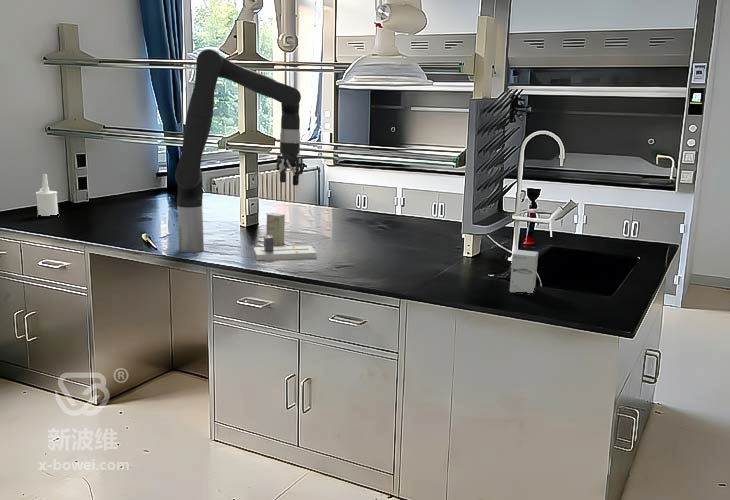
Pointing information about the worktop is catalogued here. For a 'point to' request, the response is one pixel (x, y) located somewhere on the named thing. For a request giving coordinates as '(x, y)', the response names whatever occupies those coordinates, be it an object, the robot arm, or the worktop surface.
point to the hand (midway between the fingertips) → (289, 183)
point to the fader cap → (268, 243)
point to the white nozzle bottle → (46, 199)
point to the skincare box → (276, 227)
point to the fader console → (285, 252)
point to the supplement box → (523, 271)
